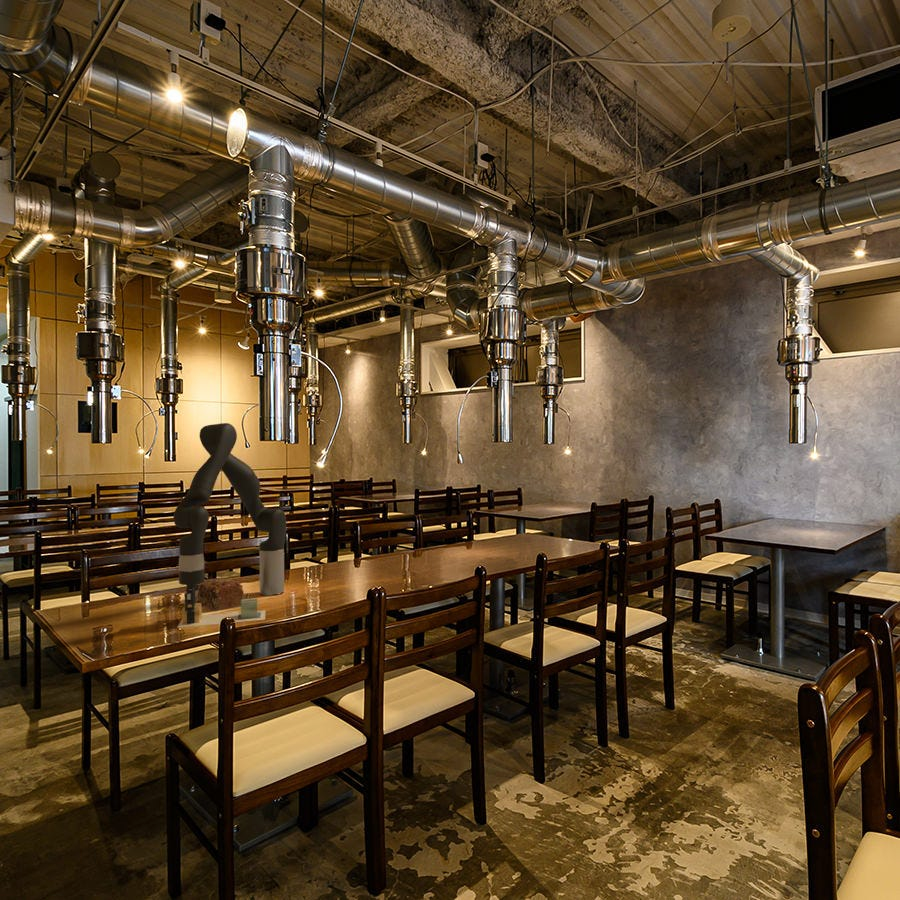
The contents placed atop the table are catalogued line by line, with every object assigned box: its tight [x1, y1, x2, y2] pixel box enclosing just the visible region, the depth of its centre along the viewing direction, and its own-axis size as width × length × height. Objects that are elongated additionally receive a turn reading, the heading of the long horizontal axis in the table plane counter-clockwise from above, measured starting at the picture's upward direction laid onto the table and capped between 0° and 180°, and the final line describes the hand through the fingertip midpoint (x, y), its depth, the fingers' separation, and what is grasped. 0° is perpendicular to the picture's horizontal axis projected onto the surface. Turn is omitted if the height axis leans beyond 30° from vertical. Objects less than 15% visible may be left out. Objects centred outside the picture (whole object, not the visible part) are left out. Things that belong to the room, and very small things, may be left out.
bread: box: [197, 577, 245, 612], centre depth 208 cm, size 19×11×10 cm, turn 42°
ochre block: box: [181, 603, 202, 624], centre depth 186 cm, size 5×5×5 cm
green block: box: [240, 598, 259, 618], centre depth 191 cm, size 5×5×5 cm
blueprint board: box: [177, 610, 266, 628], centre depth 189 cm, size 12×26×1 cm, turn 107°
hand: (192, 620), depth 186 cm, fingers closed on ochre block, 5 cm apart
